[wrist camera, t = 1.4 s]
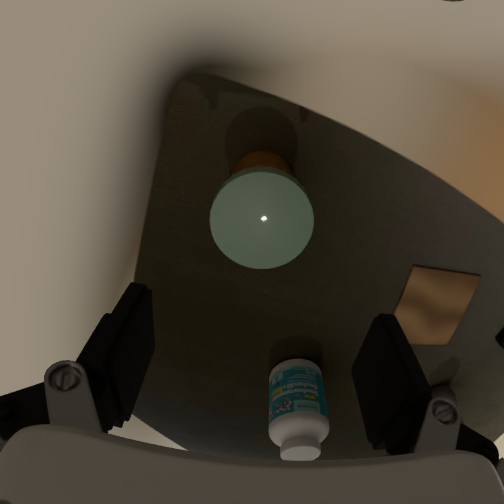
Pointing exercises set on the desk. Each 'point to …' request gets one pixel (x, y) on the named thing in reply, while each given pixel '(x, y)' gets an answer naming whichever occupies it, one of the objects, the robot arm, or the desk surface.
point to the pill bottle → (297, 409)
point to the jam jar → (262, 162)
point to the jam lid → (261, 217)
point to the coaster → (433, 304)
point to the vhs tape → (500, 338)
